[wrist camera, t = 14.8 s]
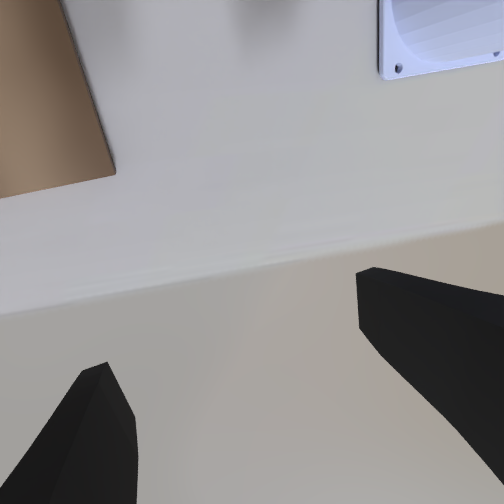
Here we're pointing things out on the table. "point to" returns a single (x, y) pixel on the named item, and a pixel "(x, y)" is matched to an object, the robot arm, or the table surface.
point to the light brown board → (45, 103)
